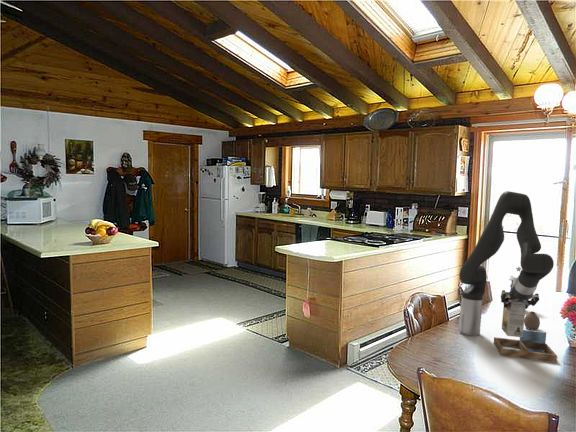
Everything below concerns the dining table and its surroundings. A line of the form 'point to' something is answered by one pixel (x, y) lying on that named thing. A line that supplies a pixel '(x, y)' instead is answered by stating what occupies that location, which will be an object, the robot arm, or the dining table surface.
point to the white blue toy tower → (513, 278)
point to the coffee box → (514, 319)
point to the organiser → (527, 347)
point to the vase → (532, 321)
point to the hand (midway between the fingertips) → (514, 306)
